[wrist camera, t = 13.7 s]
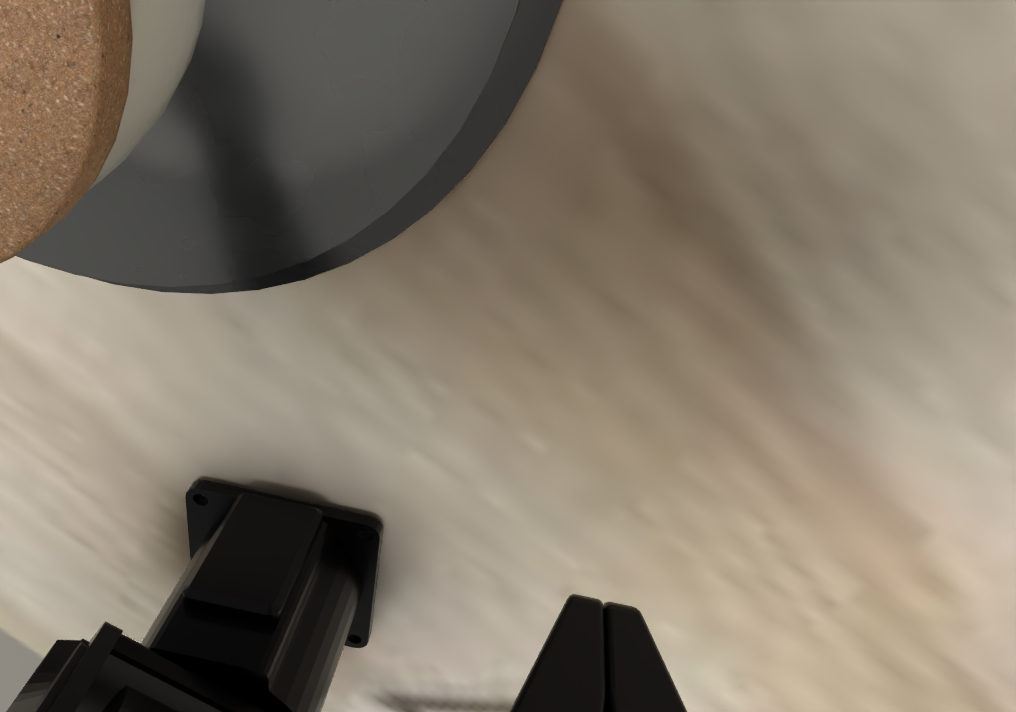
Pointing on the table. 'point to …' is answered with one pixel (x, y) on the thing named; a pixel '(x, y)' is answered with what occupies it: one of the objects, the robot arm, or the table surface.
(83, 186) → the lidded jar
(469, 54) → the turntable
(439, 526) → the table surface
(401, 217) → the turntable base
